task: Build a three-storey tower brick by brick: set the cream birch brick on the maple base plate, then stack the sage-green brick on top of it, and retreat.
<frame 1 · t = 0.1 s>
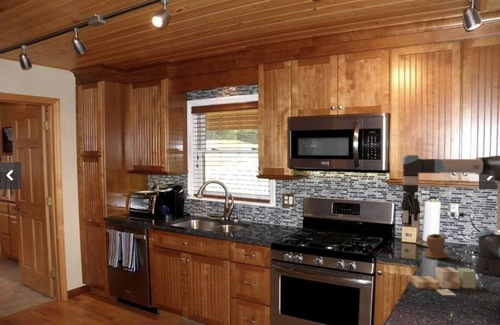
hand: (410, 224, 202), 28 cm above the countertop, fingers open, 13 cm apart
instruction page: (445, 292, 180), on the countertop
birch brick: (447, 285, 190), on the countertop
base: (424, 285, 190), on the countertop
brown rounded piece: (437, 258, 244), on the countertop
sage brick: (465, 286, 189), on the countertop
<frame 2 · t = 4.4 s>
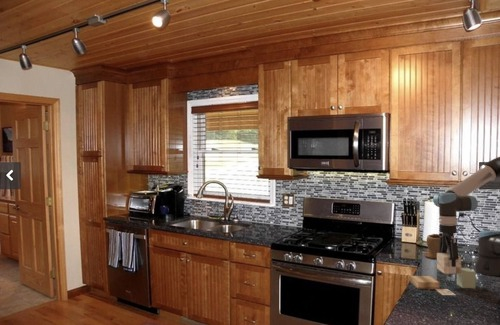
hand: (448, 270, 190), 8 cm above the countertop, fingers closed on birch brick, 8 cm apart
birch brick: (448, 271, 190), point 7 cm above the countertop, touching gripper
everything else where it was.
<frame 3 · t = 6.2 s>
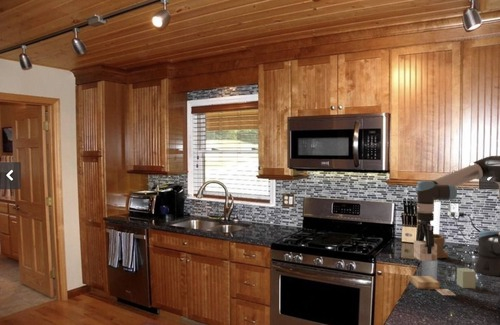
hand: (424, 257, 190), 14 cm above the countertop, fingers closed on birch brick, 8 cm apart
birch brick: (425, 258, 190), point 13 cm above the countertop, touching gripper
everything else where it was.
when the fingers open (4 cm above the countertop, at t = 8.2 s): birch brick stays where it is, resting on base.
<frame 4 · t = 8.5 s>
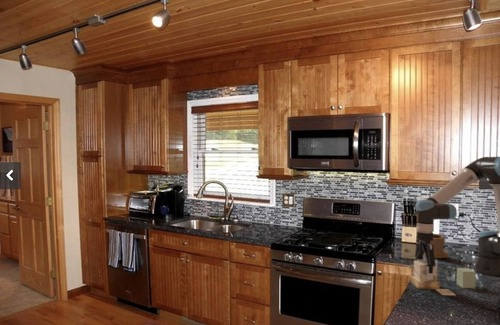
hand: (424, 275, 190), 5 cm above the countertop, fingers open, 11 cm apart
birch brick: (425, 279, 190), point 3 cm above the countertop, touching base
everything else where it was.
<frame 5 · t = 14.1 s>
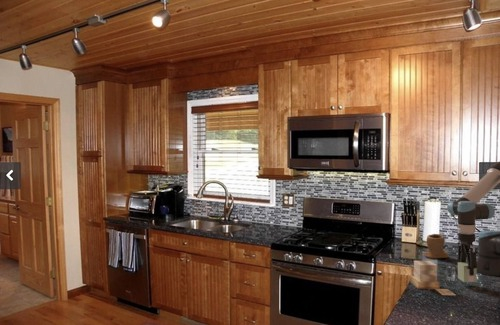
hand: (466, 279, 189), 3 cm above the countertop, fingers closed on sage brick, 6 cm apart
sage brick: (467, 280, 189), point 3 cm above the countertop, touching gripper
everything else where it was.
when the fingers open (11 cm above the countertop, at t = 18.6 s): sage brick stays where it is, resting on birch brick.
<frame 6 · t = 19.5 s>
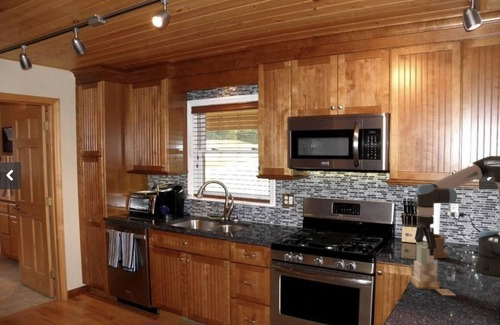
hand: (424, 258, 190), 13 cm above the countertop, fingers open, 13 cm apart
birch brick: (425, 279, 190), point 3 cm above the countertop, touching base, sage brick
sage brick: (424, 262, 190), point 11 cm above the countertop, touching birch brick
everything else where it was.
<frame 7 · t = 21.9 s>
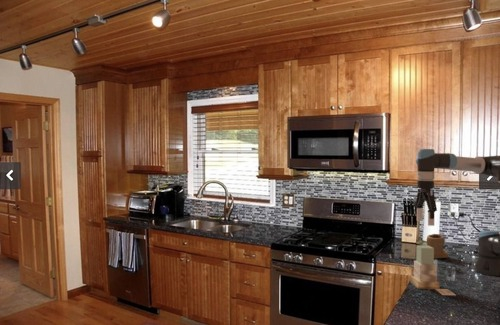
hand: (425, 223, 190), 31 cm above the countertop, fingers open, 13 cm apart
nothing on the countertop moved.
at the end: birch brick inside the target area on the base (0.2 cm from its centre), point 3.0 cm above the base's base; sage brick inside the target area on the base (0.0 cm from its centre), point 11.0 cm above the base's base; sage brick tilted 0° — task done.
